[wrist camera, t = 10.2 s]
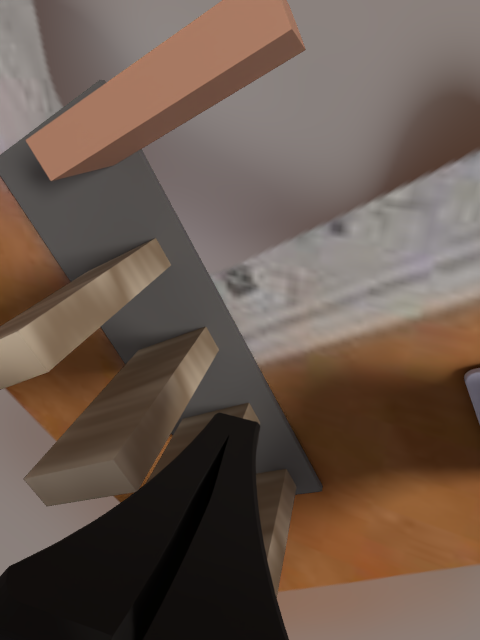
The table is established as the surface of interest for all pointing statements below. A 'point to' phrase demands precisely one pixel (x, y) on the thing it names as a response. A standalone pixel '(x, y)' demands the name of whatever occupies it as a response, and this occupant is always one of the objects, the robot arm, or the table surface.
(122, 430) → the domino
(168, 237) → the grey flat rectangular board
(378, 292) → the table surface
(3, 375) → the domino
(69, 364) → the table surface
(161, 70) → the domino
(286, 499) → the domino
